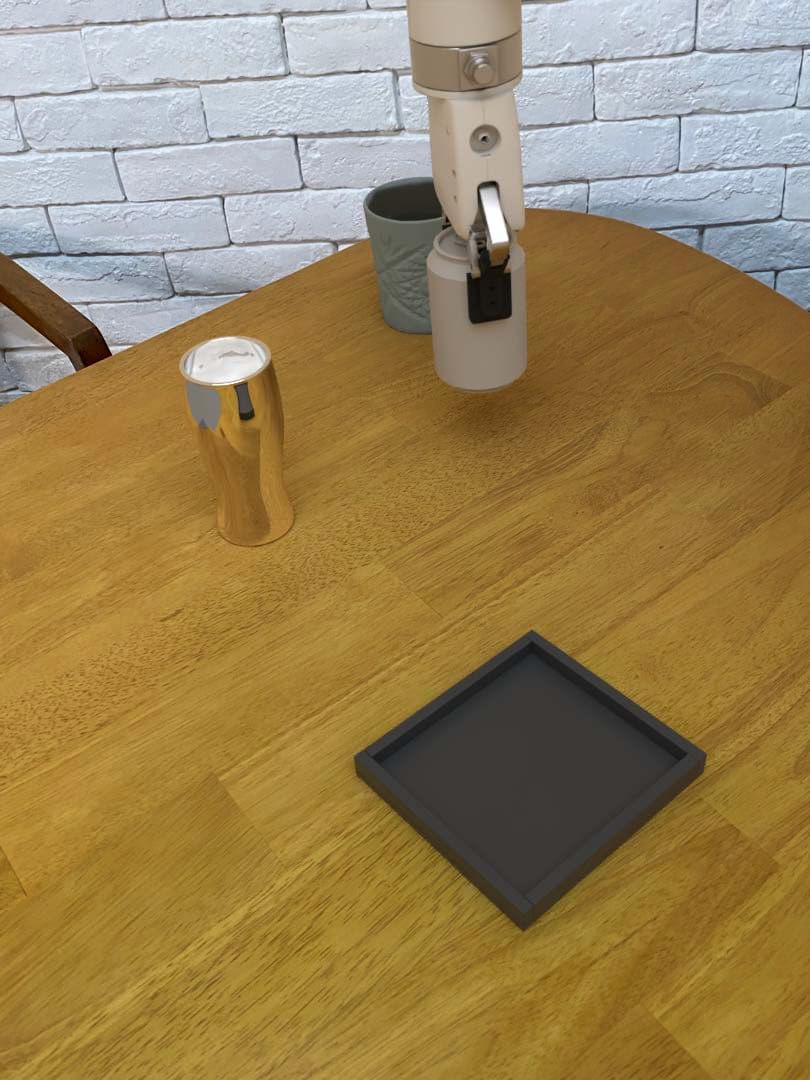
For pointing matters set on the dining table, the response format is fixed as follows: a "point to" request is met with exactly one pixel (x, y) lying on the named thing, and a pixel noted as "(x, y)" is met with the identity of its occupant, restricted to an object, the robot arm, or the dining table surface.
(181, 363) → the beer glass
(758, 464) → the dining table surface
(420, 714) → the tray
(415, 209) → the embossed green cup
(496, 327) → the can
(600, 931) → the dining table surface
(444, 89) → the robot arm
